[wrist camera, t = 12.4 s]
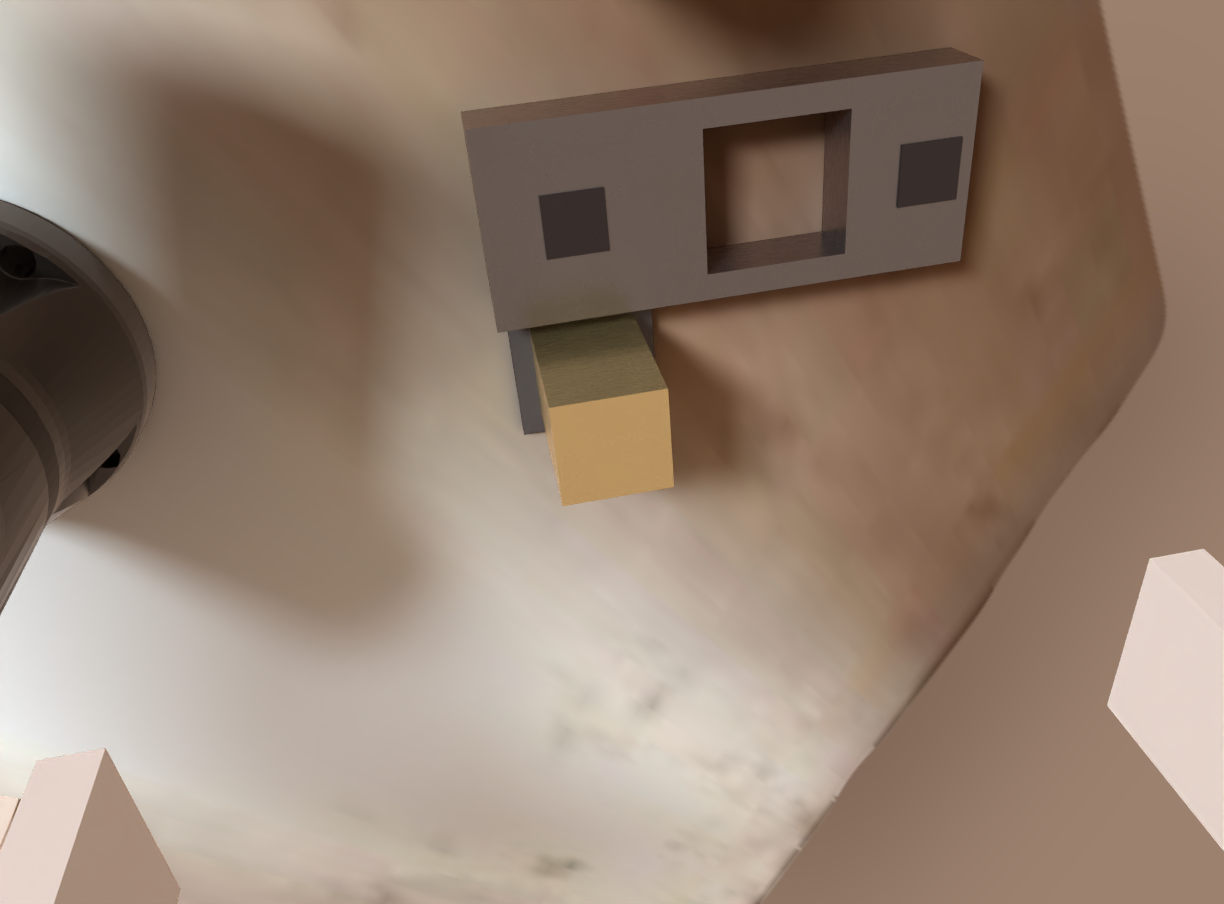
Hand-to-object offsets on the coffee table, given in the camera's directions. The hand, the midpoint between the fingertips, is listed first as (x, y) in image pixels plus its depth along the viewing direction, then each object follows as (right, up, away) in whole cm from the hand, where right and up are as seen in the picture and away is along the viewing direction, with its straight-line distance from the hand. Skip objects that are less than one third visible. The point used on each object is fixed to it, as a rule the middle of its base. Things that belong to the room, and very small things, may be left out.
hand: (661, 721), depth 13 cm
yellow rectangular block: (-2, +8, +36) cm, 37 cm away
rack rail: (+4, +16, +32) cm, 36 cm away
